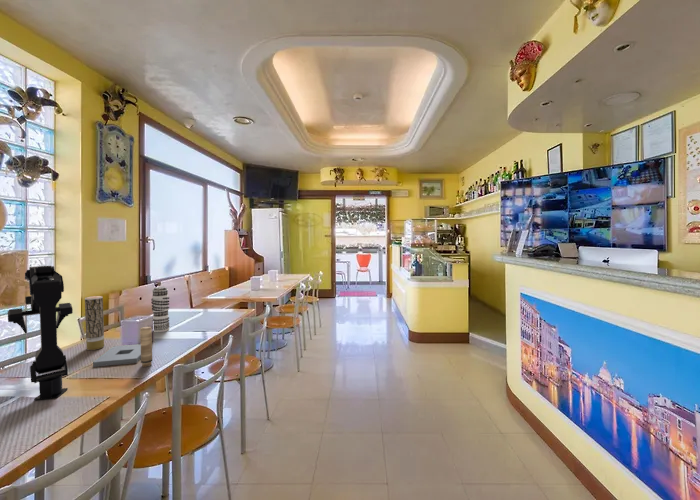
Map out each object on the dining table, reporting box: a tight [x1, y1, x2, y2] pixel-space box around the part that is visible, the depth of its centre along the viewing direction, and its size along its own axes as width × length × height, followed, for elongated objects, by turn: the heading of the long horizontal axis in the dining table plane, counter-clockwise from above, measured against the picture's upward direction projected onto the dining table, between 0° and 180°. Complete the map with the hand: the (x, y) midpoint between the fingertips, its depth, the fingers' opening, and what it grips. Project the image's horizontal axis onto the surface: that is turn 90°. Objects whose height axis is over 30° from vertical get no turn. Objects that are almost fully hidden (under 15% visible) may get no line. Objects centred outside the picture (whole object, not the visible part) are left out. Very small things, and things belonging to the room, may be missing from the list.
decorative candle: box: [150, 286, 171, 333], centre depth 185 cm, size 9×9×25 cm
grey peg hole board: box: [92, 343, 141, 368], centre depth 146 cm, size 20×16×2 cm
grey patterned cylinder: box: [84, 295, 105, 351], centre depth 155 cm, size 7×7×25 cm
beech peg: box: [139, 326, 153, 368], centre depth 135 cm, size 4×4×16 cm
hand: (41, 330), depth 132 cm, fingers open, 9 cm apart
